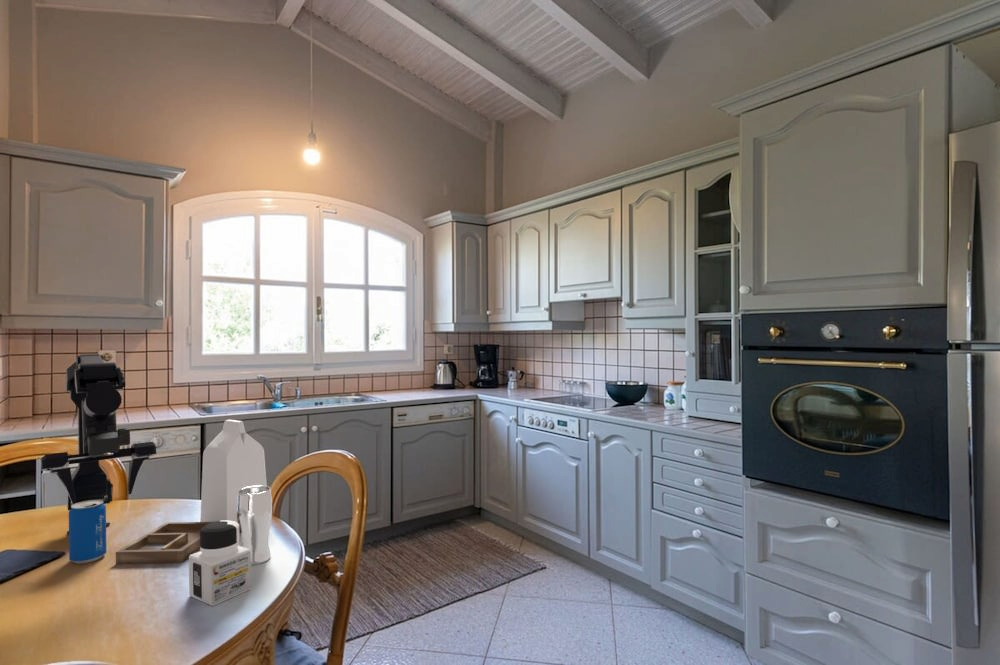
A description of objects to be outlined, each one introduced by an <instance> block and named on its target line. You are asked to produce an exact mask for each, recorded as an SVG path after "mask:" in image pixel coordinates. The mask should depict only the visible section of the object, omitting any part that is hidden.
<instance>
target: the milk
mask: <svg viewBox="0 0 1000 665" xmlns="http://www.w3.org/2000/svg"><path fill="white" fill-rule="evenodd" d="M245 428H246V427H245V424H244V422H243V420H235V419H226V420H225V419H224V422H223V427H222V430H221V431H220V432H218V434H217V435H216V436H215V437H214V438H213V440H211V441H210V443H209V444H207V446H206V447H205V449H204V450H203V454H202V471H201V495H200V496H201V497H200V498H201V499H200V519H199V520H200V521H199V522H216V521H221V520H230V521H235V522H237V495H238V493H237V492H238V491H239V490H240V489H243V488H246V487H251V486H268V484H267V470H266V458H265V457H266V455H265V449H264V447H263V445H262V444H261V443H260V442H258V441H257V439H254V438H253V437H252V436H251V435H249V434H248V433H247V432H246V429H245ZM237 523H238V522H237Z"/></svg>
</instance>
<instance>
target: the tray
mask: <svg viewBox="0 0 1000 665" xmlns="http://www.w3.org/2000/svg"><path fill="white" fill-rule="evenodd" d="M209 523H212V522H200V521H185V522H184V521H183V522H182V521H181V522H180V521H176V522H175V521H173V522H164V523H162V524H161V525H160V526H158V527H156V528H154V529H153V530H150V531H149V532H147V533H146V534H144V535H142V536H141V537H139V538H138V539H136V540H134V541H132V542H130V543H129V544H127V545H126V546H124V547H122V548H120V549H119V550H117V551H115V565H128V564H175V563H176V564H179V563H180V564H181V563H184V562H185V561H186V560H189V556H190V555H191V554H194V553H197V552H200V530H201V529H202V528H203V527H204V526H206V525H207V524H209Z"/></svg>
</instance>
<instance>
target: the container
mask: <svg viewBox="0 0 1000 665" xmlns="http://www.w3.org/2000/svg"><path fill="white" fill-rule="evenodd" d="M188 584H189V585H188V587H189V588H188V589H189V590H188V593H189V596H190V597H192V598H194V599H196V600H198V601H200V602H202V603H205V604H207V605H209V606H212V607H214V606H216V605H219V604H221V603H223V602H225V601H228V600H230V599H232V598H234V597H237V596H239V595H242V594H244V593H245V592H248V591H250V590H251V589H252V565H251V551H250V549H247V548H244V547H242V545H240V532H239V524H238V523H237V522H235V521H230V520H221V521H216V522H212V523H209V524H207V525H206V526H204V527H203V528H202V529H201V530H200V550H199V551H197V552H196V553H194V554H191V555H190V556H189V558H188Z"/></svg>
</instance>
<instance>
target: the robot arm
mask: <svg viewBox="0 0 1000 665" xmlns="http://www.w3.org/2000/svg"><path fill="white" fill-rule="evenodd" d="M75 359H76V360H75V362H74V363H72V364H71V365H70V366H68V367H67V368H66V372H65V373H66V374H65V375H66V377H65V388H66V390H65V391H66V392H69V398H70V400H71V401H72V403H73V404H74V405H75V406H76V408H77V440H78V441H77V450H78V451H77V452H78V454H68V453H69V452H68V451H64V452H56V453H47V454H45V455H43V456H42V457H41V461H40V462H41V472H47V471H49V475H57V477H58V478H59V480H60V481H61V483H62V484H63V486H64V488H65V490H66V508H67V511H70V510H71V506H72V505H73V504H76V503H79V502H83V501H89V500H102V501H103V504H104V505H105V504H110V503H111V502H113V489H114V484H113V483H112V482H111V481H110V480H111V479H110V478H108V475H107V473H106V471H105V470H104V468H103V467H102V466H101V464H100V461H105V460H112V459H118V458H119V459H120V458H128V457H130V458H131V460H129V462H128V463H129V464H128V475H127V476H128V478H127V479H128V480H127V493H128V495H132V493H133V489H134V486H135V483H136V481H137V476H138V473H139V471H140V469H141V467H142V465H143V463H144V462H146V461H149V460H150V457H153V456H155V455H157V445H156V443H155V442H154V441H147V442H137V443H133V444H131V431H130V430H131V429H130V428H129V427H123V428H117V427H118V426H117V410H118V409H119V408H120V407H121V404H122V398H123V397H122V395H121V393H120V392H119V391H123V389H124V388H126V380H125V375H124V372H123V370H121V367H120V366H117V364H116V362H114V361H109V362H108V361H107V362H105V361H104V355H103V354H99V353H94V354H93V353H91V354H89V353H87V354H86V353H85V354H79V355H76V358H75ZM129 445H130V447H126V448H120V447H123V446H129ZM74 464H78V465H77V467H76V468H75V469H74V471H73V473H72V471H71V467H69V466H70V465H74ZM110 525H111V522H106V527H108V526H110ZM66 534H67V535H69V530H67V531H66Z"/></svg>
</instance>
